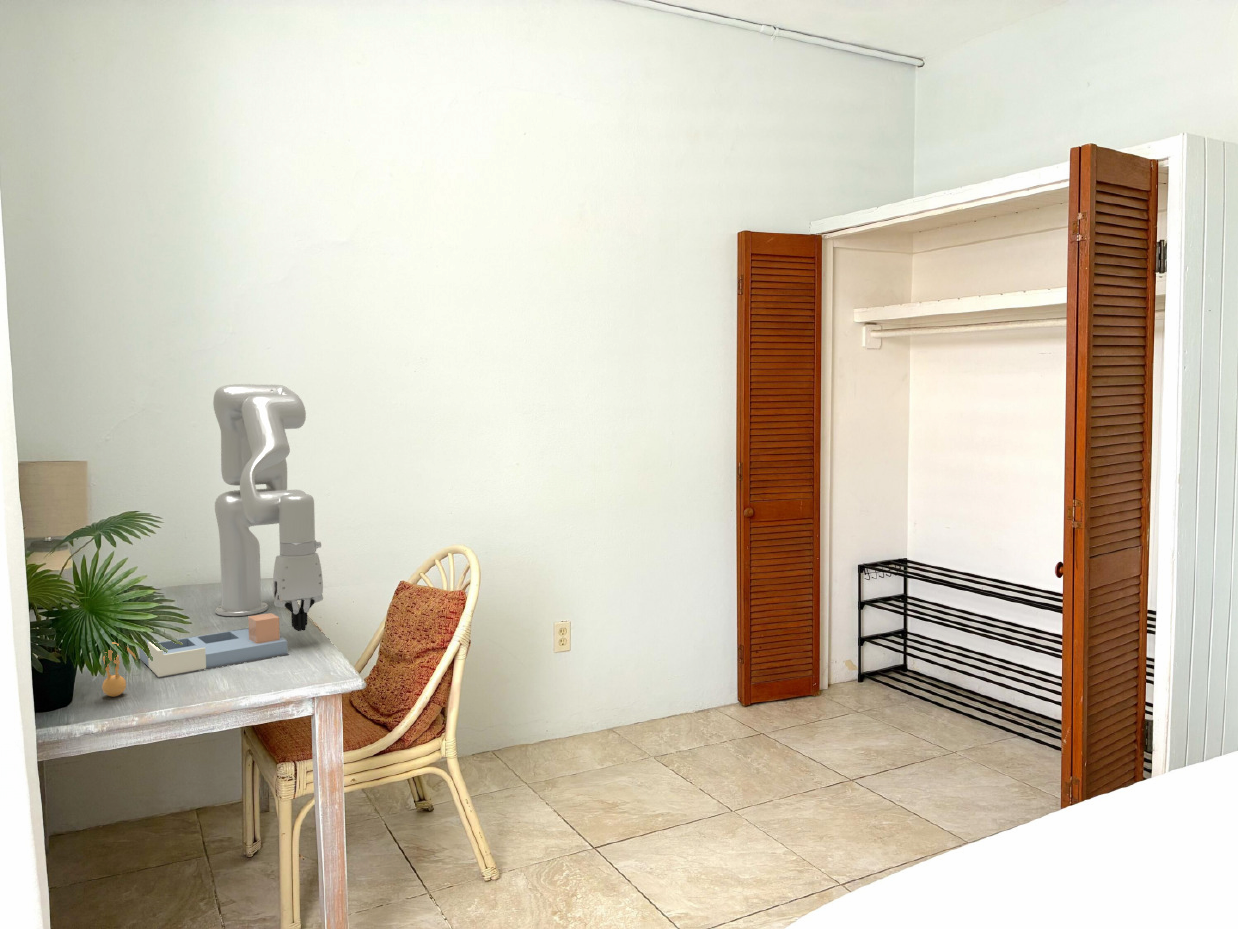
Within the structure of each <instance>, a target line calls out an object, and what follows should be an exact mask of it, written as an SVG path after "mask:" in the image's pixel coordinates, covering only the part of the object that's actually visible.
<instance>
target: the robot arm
mask: <svg viewBox="0 0 1238 929" xmlns="http://www.w3.org/2000/svg"><path fill="white" fill-rule="evenodd" d="M212 404H213V411H214V414H215V415H214V416H215V418H216V421H217V423H218V425H219V430H220V471H221V477H222V480H223V482H224V483H225V484H227V485H230V486H238V487H239V489H237V490H235V489H234V490H229V491H225V492H222V493H221V494H219V495H218V496H217V498H216V499H215V501H214V512H215V517H216V522H217V528H218V535H219V553H220V554H219V556H220V583H221V587H220V588H221V604H220V605H218V606H217V607H216V608H215V614H217V615H218V616H222V617H243V616H244V617H245V616H253V615H258V614H260V613H264V612H265V611H267V610H268V609H269V605H268V603H266V602H265V601H262V583H261V578H262V577H261V548H260V547H261V546H260V545H261V544H260V542H259V539H258V538H257V537H256V535H255V534H254V533H253V532H252V531H251V530H250V529H249V528H251V527H255V526H269V525H277V524H278V527H279V529H278V531H279V532H278V533H279V535H278V536H279V555H276V556H275V559H274V566H273V579H272V596H273V598H274V602H273V603H274V604H273V605H274V607H277V608H285V609H287V610H288V611H289V612H290V613H291V627H292V628H293V630H295V631H296V632H301V631H306V628H307V627H306V626H307V625H308V613H309V611H310V609H311V608H312V606H314V604H316V603H319V602H322V601H323V599H324V595H323V594H324V592H323V591H324V582H323V581H324V580H323V572H322V565H321V561H320V556H319V553H317V549H318V548H321V547H322V543H321V541H317V540H316V530H315V529H316V524H315V522H316V520H315V516H316V515H315V499H314V497H313V496H312V495H311V494H309V493H306V492H305V491H303V490H302V489H288V462H287V460H286V459H287V458H288V456H289V454H290V452H291V449H290V447H291V446H290V444H289V440H288V436H287V432H286V430H292V429H293V430H295V429H296V430H297V429H300V428H302V427H303V426H304V424H305V421H306V418H307V416H306V415H307V412H306V407H305V405H304V402H303V400H302V399H301V397H300V396H299V395H298V394H297V393H295V391H292V390H291V389H290V388H288V387H286V386H284V385H281V384H254V383H253V384H252V383H251V384H250V383H247V384H246V383H243V384H242V383H241V384H227V385H222V386H220V387H218V388H217V389H215V392H214V395H213V402H212ZM257 485H265V486H266V487H265V488H258V489H257V487H256V486H257ZM298 601H299V604H298Z"/></svg>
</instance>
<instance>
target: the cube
mask: <svg viewBox="0 0 1238 929" xmlns="http://www.w3.org/2000/svg"><path fill="white" fill-rule="evenodd" d="M247 618H248V619H247V620H248V623H247V624H248V628H249V639H250V640H252V641H253V642H255V643H256V644H258V643H264V642H270V641H275V640H280V637H281V636H280V634H281V633H280V617H279V616H277V615H276V614H273V613H272V612H270V613H262V614H254V615H247Z"/></svg>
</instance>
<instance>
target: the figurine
mask: <svg viewBox="0 0 1238 929" xmlns="http://www.w3.org/2000/svg"><path fill="white" fill-rule="evenodd" d="M112 644H117V646H119V644H120V643H117V642H115V641H114V642H112ZM126 647H127V646H126ZM126 651H127V652H128V653H129V654H130V655H131V656H132V657H134V659H135V660H137V657H135V656H136V654H135V653H134V652H133V651H132V650H131V649H130V648H129V647H127V650H126ZM105 653H107V652H104V654H105ZM112 653H113V651H112V650H108V658H109V660H110V661H113V660H112ZM116 655H117V657H116V660H115V658H114V661H113V662H112V663H113V664H116V666H115V668H114V671H115V674H113V675H112V674H111V672H110V666H109V665H110V664H111V662H110V663H109V664H108V665H107V667H106V666H105V671H106V676H107V677H106V678H105V680H103V682H102V685H101V688H102V691H103V693H104V694H105V695H106V696H108V697H115V698H116V697H118V696H120V695H122V694H123V693H124V692H125V690H126V689H127V681H126V679H125V678H124V677H123V676H121V675H120V674H119V670H120V663H121V661H120V655H118V654H116ZM105 656H106V655H104V656H102V661H103V664H104V665H105Z"/></svg>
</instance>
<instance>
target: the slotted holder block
mask: <svg viewBox="0 0 1238 929" xmlns="http://www.w3.org/2000/svg"><path fill="white" fill-rule="evenodd" d="M171 640H172V639H170V640H165V641H157V642H158V643H159V644H161V645H162V646H163V647H165V648H166V649H168V652H167V653H166V652H164V651H163V650H160V649H159V648H158V647H156V646H155V645H154V644H152V643H151V642H149V641H148V640H147V644H148V648H149V650H150V653H151V656H152V657H153V661H152V662H151V660H150V658H148V656H146V654H145V653H144V651H143V650H142V649H141V648H140V647H139V646H138V648H139V658H140V659H139V660H140V661H141V662H142V663H143V662H145V664H146V665H147V666H148V667H149V668H148V667H147V666H146V665H145V664H144V665H145V666H146V667H147V668H148V669H149V670H150V669H151V670H152V671H151V670H150V671H151V672H152V673H153V674H154V675H155V676H156V677H157V678H158V679H161V678H168V677H173V676H178V675H185V674H190V673H196V672H200V671H199V670H202V671H205V670H204V669H208V670H212V669H211V668H213V669H217V668H216V667H219V668H223V667H222V666H224V667H228V666H227V665H230V666H234V665H233V664H235V665H240V664H239V663H241V664H245V663H244V662H247V663H252V662H257V661H262V660H267V659H273V658H272V657H274V658H278V657H277V656H280V657H285V656H289V655H290V654H289V653H288V640H286V639H285V638H283V637H282V636H280V640H275V641H270V642H264V643H258V644H256V643H255V642H253V641H252V640H250V639H249V627H247V628H241V629H240V628H239V629H234V630H228V631H222V632H215V633H214V632H213V633H207V634H203V635H202V634H201V635H197V636H196V635H195V636H191V637H190V636H189V637H184V638H183V637H182V638H178V639H177V640H178V641H180V642H182V643H183V645H180V644H175V643H173V642H172V641H171Z"/></svg>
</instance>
